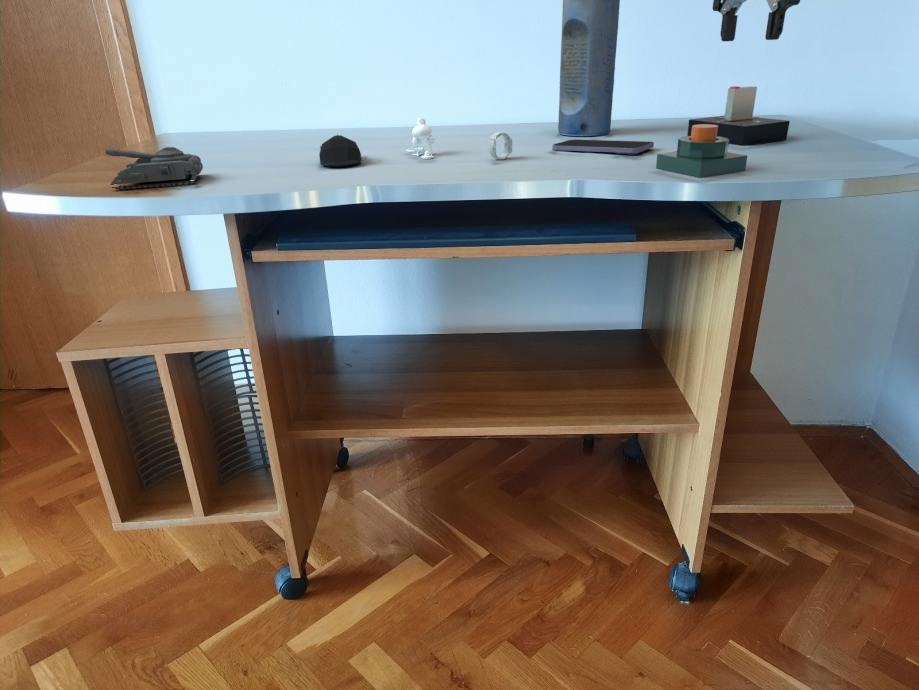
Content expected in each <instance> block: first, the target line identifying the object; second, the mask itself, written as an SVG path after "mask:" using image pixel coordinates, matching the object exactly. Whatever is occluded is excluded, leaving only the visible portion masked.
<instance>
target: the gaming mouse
mask: <svg viewBox="0 0 919 690" xmlns="http://www.w3.org/2000/svg"><path fill="white" fill-rule="evenodd" d="M319 149H320V150H319V154H318V155H319V157H318V158H319V164H320V165H321V166H323V167H332V168H333V167H334V168H335V167H336V168H337V167H339V168H340V167H348V166H354V165H358V164H360V163H361V162H362V153H361V150H360V148H359V145H358V144H357V142H356V141H355V140H352V139H351V138H347V137H346V136H344V135H342V134H336V135H333V136H332V137H330V138H329V139H327V140H326V141H324V142H323V143H321V145H320V146H319Z"/></svg>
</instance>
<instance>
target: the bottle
mask: <svg viewBox="0 0 919 690" xmlns="http://www.w3.org/2000/svg"><path fill="white" fill-rule="evenodd" d="M620 4H621V0H562V16H561V18H562V19H561V38H560V39H561V40H560V62H559V63H560V65H559V66H560V67H559V95H558V96H559V100H558V101H559V102H558V103H559V104H558V125H557V131H558V134H560V135H563V136H567V137H595V136H597V137H598V136H604V135H608V134H609V133H610V132H611V127H612V126H611V125H612V110H613V100H614V99H613V97H614V85H615V71H616V59H617V58H616V57H617V45H618V32H619V20H620V19H619V18H620V6H621V5H620Z"/></svg>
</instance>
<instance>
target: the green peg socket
mask: <svg viewBox="0 0 919 690" xmlns="http://www.w3.org/2000/svg"><path fill="white" fill-rule="evenodd" d="M677 139H678V140H677V148H676V151H668V152H662V153H657V154H656V164H655V169H656V170H660V171H666V172H670V173H674V174H679V175H683V176H687V177H692V178H697V179H703V178H709V177H715V176H721V175H727V174H734V173H739V172H745V171H746V169H747V168H746V167H747V163H748V162H747V161H748V155H747V154H740V153H735V152H729V150H728V149H729V145H730V144H729V139H727V138H725V137H718V136H717V139H716V141H693V140H691V136H687V135H686V136H681V137H679V138H677Z"/></svg>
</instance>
